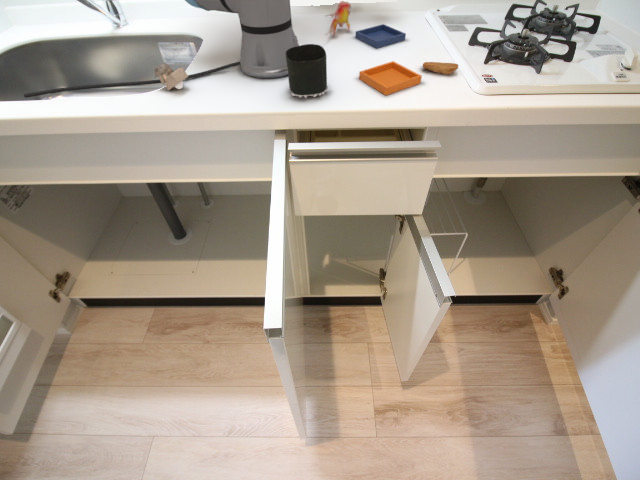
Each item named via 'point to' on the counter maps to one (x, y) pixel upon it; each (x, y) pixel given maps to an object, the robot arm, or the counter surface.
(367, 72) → the amber tray
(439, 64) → the stone
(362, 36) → the blue tray
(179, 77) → the toy character
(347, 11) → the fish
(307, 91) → the black cylinder cup
